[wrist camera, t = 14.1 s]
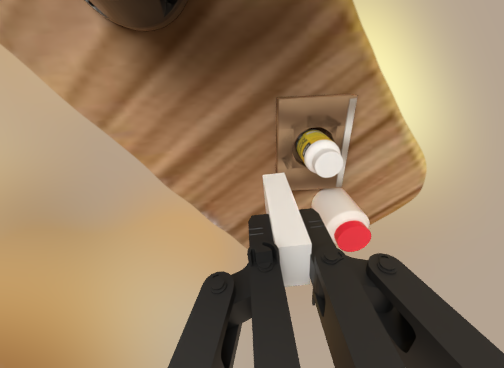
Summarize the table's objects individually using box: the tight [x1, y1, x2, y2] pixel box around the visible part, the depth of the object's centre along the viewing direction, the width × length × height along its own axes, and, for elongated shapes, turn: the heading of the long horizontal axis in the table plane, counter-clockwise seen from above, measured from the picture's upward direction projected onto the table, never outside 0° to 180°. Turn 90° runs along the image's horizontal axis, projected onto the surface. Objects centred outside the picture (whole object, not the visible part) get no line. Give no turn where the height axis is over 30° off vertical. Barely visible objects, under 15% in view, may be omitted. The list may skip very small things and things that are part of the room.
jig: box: [276, 94, 358, 191], centre depth 37 cm, size 16×12×3 cm
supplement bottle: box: [296, 129, 343, 178], centre depth 34 cm, size 5×5×10 cm
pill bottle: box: [311, 188, 371, 252], centre depth 40 cm, size 8×8×11 cm
